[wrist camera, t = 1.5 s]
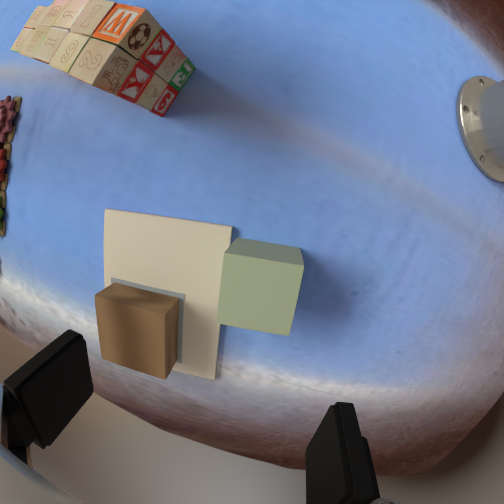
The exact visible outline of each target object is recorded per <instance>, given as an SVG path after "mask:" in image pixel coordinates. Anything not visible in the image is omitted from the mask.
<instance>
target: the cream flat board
mask: <svg viewBox="0 0 504 504" xmlns="http://www.w3.org/2000/svg"><path fill="white" fill-rule="evenodd" d="M232 229H233V226H228V225H221V224H215V223H208V222H201V221H195V220H188V219H181V218H174V217H167V216H160V215H153V214H146V213H138V212H131V211H123V210H116V209H105V219H104V280H105V288H106V287H108V286H110V285H111V284H113V283H114V282H115V283H119V284H123V285H127V286H131V287H135V288H139V289H143V290H147V291H151V292H156V293H160V294H164V295H169V296H173V297H178V298H179V319H178V359H177V361H176V363H175V365H174V366H173V368H172V370H174V371H178V372H182V373H186V374H190V375H194V376H198V377H202V378H206V379H211V380H215V375H216V366H217V356H218V346H219V337H220V328H221V324H218V323H216V320H217V310H218V301H219V292H220V283H221V274H222V266H223V258H224V252H225V251H226V250H227V249H228V247H229V246H230V244H231V237H232Z"/></svg>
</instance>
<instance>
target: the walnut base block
mask: <svg viewBox="0 0 504 504" xmlns="http://www.w3.org/2000/svg"><path fill="white" fill-rule="evenodd" d="M95 306H96V316H97V325H98V333H99V340H100V347H101V354H102V358H103V359H105V360H108V361H111V362H113V363H116V364H119V365H121V366H124V367H127V368H130V369H133V370H136V371H139V372H142V373H145V374H148V375H151V376H155V377H158V378H161V379H165V380H166V378H167V376H168V375H169V373H170V371H171V370H172V368H173V366H174V365H175V363H176V361H177V359H178V319H179V298H178V297H173V296H169V295H164V294H160V293H156V292H151V291H147V290H143V289H139V288H135V287H131V286H127V285H123V284H119V283H115V282H114V283H113V284H111V285H110V286H108V287H106V288H105V289H103V290H102V291H100V292H99V293H97V294H96V295H95Z"/></svg>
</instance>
